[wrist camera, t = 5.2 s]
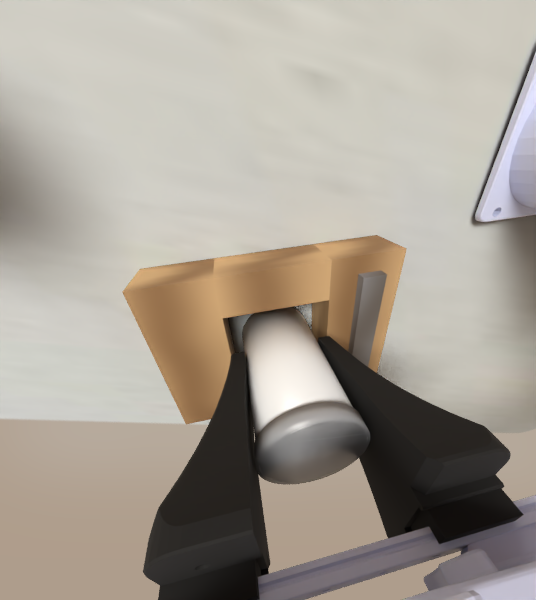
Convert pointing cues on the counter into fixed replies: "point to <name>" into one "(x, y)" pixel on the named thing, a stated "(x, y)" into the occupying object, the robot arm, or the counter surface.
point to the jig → (261, 307)
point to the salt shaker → (297, 402)
